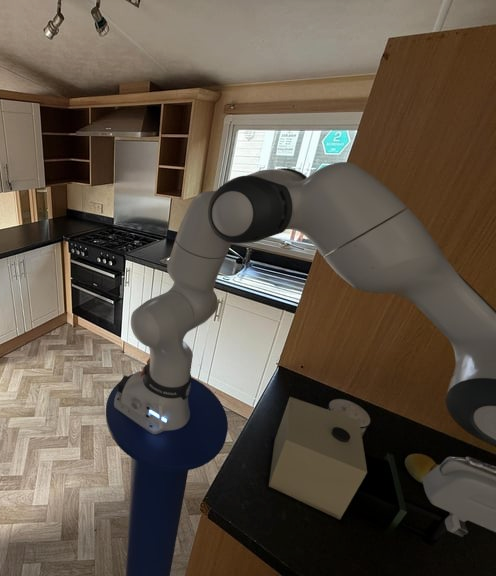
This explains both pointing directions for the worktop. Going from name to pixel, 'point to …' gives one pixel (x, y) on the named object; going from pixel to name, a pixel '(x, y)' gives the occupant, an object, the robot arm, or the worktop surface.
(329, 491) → the cube with dark spot
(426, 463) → the bread roll
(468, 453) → the worktop surface
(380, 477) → the door with handle
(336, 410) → the enamel mug with lid
